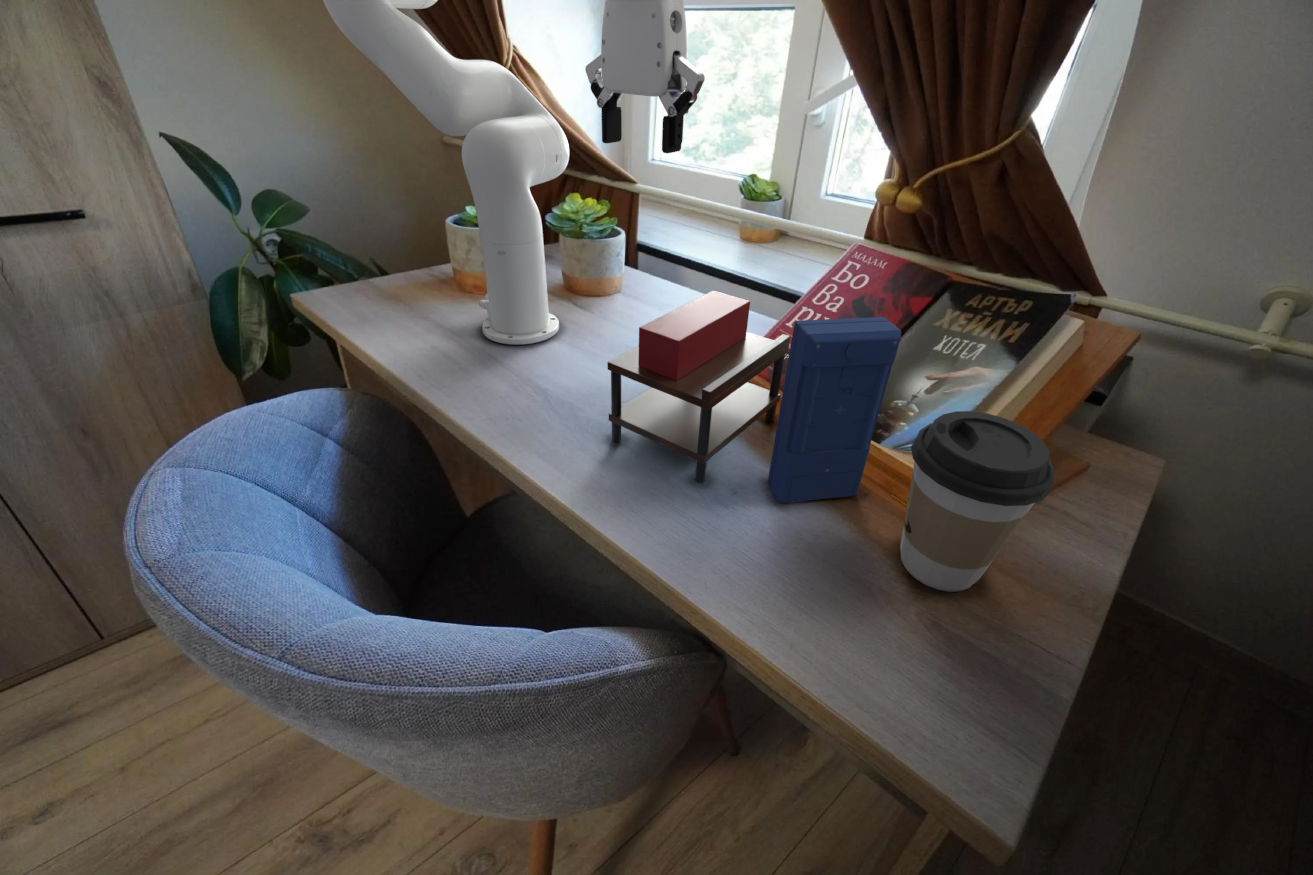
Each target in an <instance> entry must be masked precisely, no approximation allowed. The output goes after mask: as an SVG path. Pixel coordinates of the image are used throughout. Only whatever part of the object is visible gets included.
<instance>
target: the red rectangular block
mask: <svg viewBox="0 0 1313 875" xmlns="http://www.w3.org/2000/svg"><path fill="white" fill-rule="evenodd" d="M750 307H751V301H750V300H748V299H744V298H741V297H737V296H734V295H730V294H726V293H724V292H720V291H716V290H711V291H709V292H708V293H705V294H703V295H702V296H699V297H697V298H695V299H693V300H692V301H689V302H687V303H686V304H683V305H681V306H679V307H677V308H675V309H672V311H669V312H667V313H665V314H663V315H661V316H659V317H656V318H654V319H653V320H651V321H649V322H647V323H645V324H643V325H641V326H639V327H638V346H639V367H642V368H644V369H647V370H650V371H652V372H655V373H657V374H660V375H663V376H665V377H668V378H670V379H673V380H675V381H677V380H679V379H681V378H682V377H684V376H685V375H687V374H688V373H690V372H692V371H693V370H695V369H696V368H698V367H700V366H701V365H703V364H704V363H706V362H707V361H709V360H711V359H712V358H714V357H715V356H717V355H718V354H720V353H722V352H723V351H725V350H726V349H728V348H729V347H731V346H733V345H734V344H736V343H737V342H739V341H741V340H742V339H744V338H745V337H746V332H748V323H749V316H750Z"/></svg>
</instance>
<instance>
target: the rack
mask: <svg viewBox="0 0 1313 875" xmlns="http://www.w3.org/2000/svg"><path fill="white" fill-rule="evenodd" d="M790 342H791V336H790V335H788V334H784V333H782V334H781V335H780V336H779V337H777V338H776V339H772V338H767V337H765V336H761V335H758V334H755V333H752V332H749V331H747V332H746V337H745V338H744V339H742V340H741V341H739V342H737V343H736V344H734V345H733V346H731V347H729V348H728V349H726V350H725V351H723V352H722V353H720V354H718V355H717V356H715V357H714V358H712V359H711V360H709V361H707V362H706V363H704V364H703V365H701V366H700V367H698V368H696V369H695V370H693V371H692V372H690V373H688V374H687V375H685V376H684V377H682V378H681V379H679V380H677V381H675V380H673V379H670V378H668V377H665V376H663V375H660V374H657V373H655V372H652V371H650V370H647V369H644V368H642V367H639V345H637V346H635V347H633V348H632V349H629V350H627V351H626V352H624V353H622V354H620V355H618V356H616V357H614V358H612V359H610V360H608V361H607V370H608V371H610V406H611V407H610V408H611V409H610V410H611V411H610V412H609V413H608V421H609V422H611V441H612V443H615V444H618V443H621V442H622V428H624V429H626V430H628V431H631V432H632V433H635V434H637V435H639V436H641V437H644V438H646V439H648V440H650V441H652V442H654V443H656V444H659V445H662V446H664V447H665V448H667V449H670V450H672V451H674V452H677V453H679V454H681V455H683V456H685V457H688V458H689V459H692V460H693V461H695V471H694V472H695V474H694V481H695V482H696V483H698V484H703V483H705V481H706V477H707V467H708V461H709V460H710V459H712V458H713V457H714V456H716V454H717V453H719V452H720V451H721V450H723V449H724V448H725V447H726V446H727V445H728V444H730V443H731V442H732V441H733V440H734V439H736V438H737V437H738V436H739V435H740V434H741V433H743V432H744V431H745V430H746V429H748V428H749V427H750V426H751V425H752V424H754V423H755V422H756V421H757V420H759V418H761V417H762V416H763V415H765V416H764V421H765V422H766V423H769V424H771V423H774V422H775V417H776V413H777V412H776V411H777V405H778V403H779V402H781V397H782V394H781V393H779V392H780V387H781V381H782V376H783V375H782V374H783V369H784V363H785V356H786V354H788V353H789V349H790ZM771 365H773V366H772V372H771V378H770V385H769V389H767V388H765V387H762V386H760V385H756V384H755V383H754V384H753V383H751V382H749V381H751V380H752V379H754V378H756V376H758V375H759V374H760V373H762V372H763V371H764V370H766V369H768V368H769V367H770V366H771ZM622 376H623V377H625V378H628V379H630V380H632V381H635V382H637V383H640V384H641V385H645V386H646V387H650V388H648V389H646V390H645V391H643V392H641V393H640V394H638V395H637V396H635V397H633V398H631V399H630V400H628V401H627V402H625V403H623V404H622Z"/></svg>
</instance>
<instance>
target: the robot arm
mask: <svg viewBox="0 0 1313 875" xmlns="http://www.w3.org/2000/svg"><path fill="white" fill-rule="evenodd" d="M438 1H439V0H322V2H323V4H324V6H325V9H326V10H327V12H328V14H329V15H330V17H331V19H332V20H333V22H334V24H335V25H336V26H337V28H338V29H339V30H340V31H341V33H342V34H343V35H344V36H345V38H347V40H348V41H350V43H351V44H352V45H353V46H354V47H355V48H356V49H357V50H358V51H359V52H361V53H362V54H363V56H365V57H366V58H367V59H368V60H370V61H371V62H372V63H373V64H374V65H375V66H376V67H377V68H378V69H379V70H380V71H381V72H382V73H383V74H384V75H385V76H386V77H387V78H388V79H389V80H390V81H391V82H392V84H393V85H394V86H395V87H396V88H397V89H398V90H399V91H400V92H401V94H402V95H404V96H405V97H406V98H407V100H409V102H410V103H411V104H412V105H413V107H415V108H416V109H417V110H418V111H419V113H420V114H421V115H423V117H425V119H426V120H427V121H428V122H429V123H430V124H431V125H432V126H433V127H434V128H435V129H436V130H437V131H439V132H441V133H442V134H444V135H446V136H450V137H462V136H463V137H464V136H465V137H464V139H463V141H462V142H463V143H462V146H461V162H462V166H463V170H464V173H465V176H466V180H467V182H468V185H469V188H470V191H471V195H472V199H473V203H474V208H475V214H476V221H477V226H478V233H479V240H480V247H481V254H482V264H483V271H484V277H485V284H486V291H487V293H486V294H485V296H484V299H481V300H480V301H479V302H478V305H479V307H480V308H482V309H484V310H486V312H487V317H486V319H485V320H484V321H483V323H482V328H481V329H482V333H483V335H484V336H485V337H486V338H487V339H489V340H490V341H493V342H496V343H498V344H504V345H515V346H519V345H521V346H522V345H532V344H535V343H540V342H543V341H547V340H548V339H550V338H552V337H553V336H555V335H556V334H557V333H558V332H559V330H560V322H559V319H558V318H557V317H556V316H555V315H554V314H552V313H551V312H550V311H549V310H550V309H549V299H548V297H549V296H548V285H547V271H546V270H547V269H546V258H545V244H544V233H543V232H544V230H543V223H542V217H541V212H540V210H539V207H538V205H537V203H536V201H535V199H534V197H533V195H532V192H531V188H532V187H533V186H537V185H540V184H544V183H546V182H550V181H552V180H555V179H557V178H558V177H559V176H561V175H562V174H563V173H564V171H565V170H566V168H567V166H568V165H569V160H570V146H569V141H568V138H567V136H566V134H565V132H564V130H563V128H562V127H561V125H560V123H559V122H558V120H556V118H555V117H554V116H553V115H552V113H550V112H549V111H548V110H547V108H546V107H544V105H543V104H542V103H541V102H540V101H539V99H537V97H535V95H533V93H532V92H530V90H529V89H528V88H527V86H525V85H524V83H523V82H521V80H520V79H518V77H517V76H516V75H515V74H513V73H512V71H510V70H509V69H508V68H506V67H504V66H503V65H501V64H500V63H498V62H495V61H492V60H488V59H462V58H457V57H455V56H453V55H452V54H451V53H449V52H448V51H447V50H446V49H444V48H443V46H442V45H440V44H439V43H438V42H437V41H436V39H435V38H434V37H433V36H432V34H430V32H428V30H427V29H426V28H424V27H423V26H422V25H421V24H420V23H419V22H417V21H415V20H414V19H413V18H411V17H409V16H408V15H406V14H405V13H403V12H402V11H400V10H399V9H407V10H408V9H410V10H423V9H428V8H430V7H432V6H433V5H435V4H436V3H437V2H438ZM686 21H687V20H686V11H685V5H684V0H605V1H604V8H603V17H602V28H601V48H600V53H601V54H600V55H598V56H597V57H595V58H594V59H593V60H592V61H590V62H589V63H587V65H586V66H585V73H586V76H587V79H588V82H589V84H590V91H591V92H592V94H593V96H594V98H595V100H596V105H597V107H598V108H599V109H601V141H602V143H603V144H612V143H613V144H614V143H617V142H618V143H619V142H621V141H622V138H623V136H622V134H623V132H622V126H623V125H622V120H623V119H622V107H621V106H618V104H619V103H620V101H621V99H622V98H623V96H624V94H625V95H633V96H642V97H643V96H644V97H653V98H654V97H655V98H656V97H657V98H658V99H659V100H660V102H661V104H662V106H663V108H664V110H665V112H666V114H667V115H663V118H662V130H661V134H662V135H661V151H662V153H664V154H671V153H676V152H680V151H681V150H682V144H683V139H684V138H683V137H684V118H685V116H687V115H688V113H689V111H690V109H691V108H692V106H693V105H694V104H695V103H696V101H697V100H698V94H699V93H700V91H701V90H702V86H703V85H704V83H705V80H706V79H705V78H706V77H705V75H704V73H702V71H701V70H699V69H698V68H697V67H696V66H694V65H693V64H692V63H691V62H689V61H688V36H687V22H686Z"/></svg>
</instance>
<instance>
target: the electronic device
mask: <svg viewBox="0 0 1313 875" xmlns="http://www.w3.org/2000/svg"><path fill="white" fill-rule="evenodd" d="M901 338H902V330H901V329H900V328H898V327H897V326H896V325H895V324H894V323H893V322H891V321H890V320H889V319H888V318H886V317H885V316H874V317H851V318H828V319H827V318H826V319H805V320H804V319H803V320H801V319H800V320H795V321H794V324H793V330H792V336H791V340H790V342H791V343H790V346H789V352H788V353H789V354H788V359H787V366H786V371H785V377H784V383H783V390H782V394H781V399H780V407H779V413H778V418H777V422H776V423H777V425H776V430H775V434H774V435H775V436H774V440H773V441H774V442H773V448H772V454H771V459H770V464H769V471H768V477H767V484H768V487H769V488H770V490H771V492H772V494H773V496H774V498H775V500H776V501H777V502H781V503H794V502H803V501H805V502H807V501H815V500H826V499H828V500H829V499H836V498H838V499H839V498H847V497H848V498H849V497H857V495H858V492H859V490H860V486H861V483H862V482H861V481H862V479H863V475H864V472H865V469H866V464H867V461H868V457H869V454H870V449H871V442H872V440H873V439H872V438H873V436H874V432H875V428H876V425H877V421H878V417H879V414H880V410H881V407H882V404H883V400H884V396H885V393H886V389H887V385H888V382H889V379H890V375H891V371H892V368H893V365H894V364H895V361H896V357H897V354H898V351H899V347H900V343H901Z"/></svg>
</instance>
